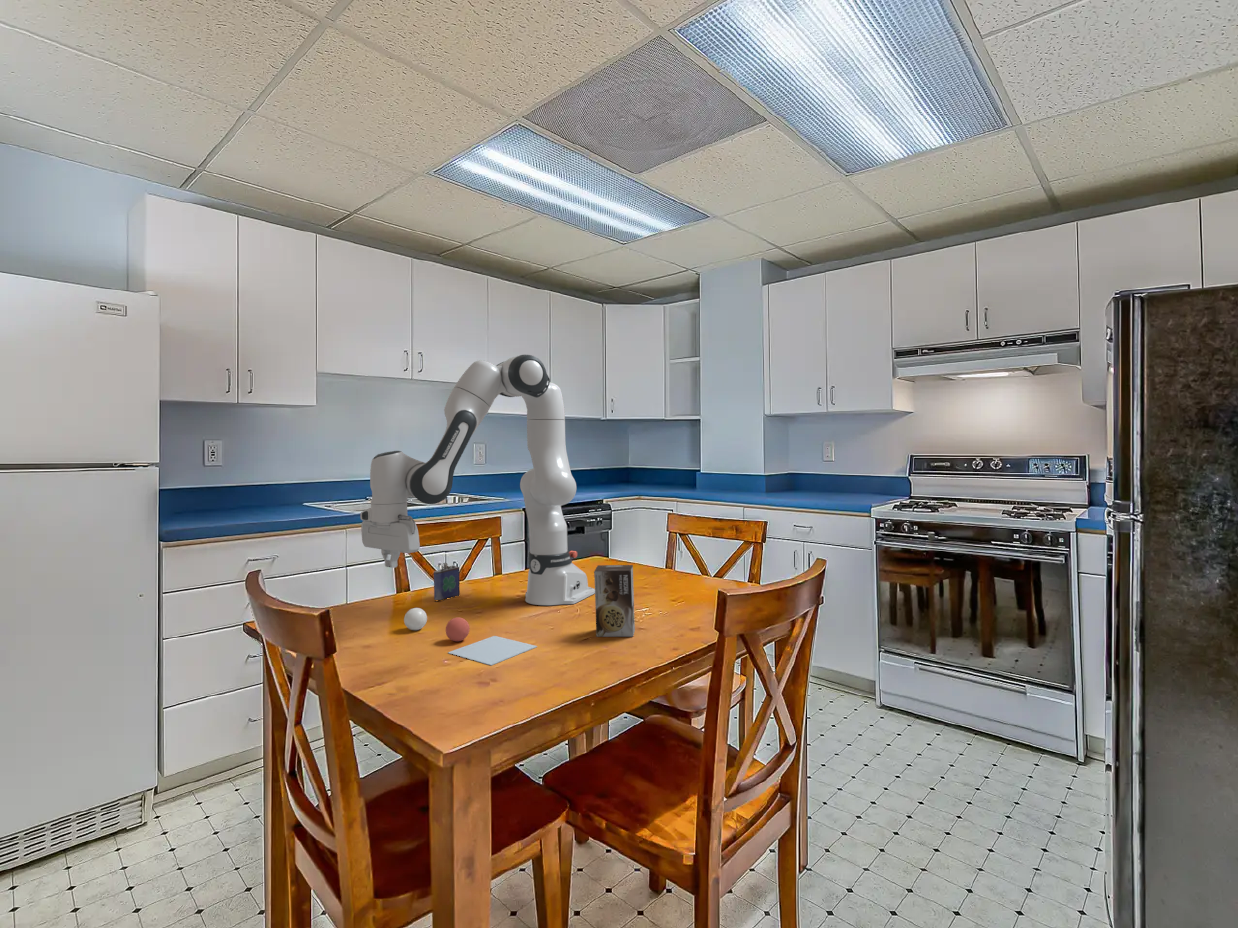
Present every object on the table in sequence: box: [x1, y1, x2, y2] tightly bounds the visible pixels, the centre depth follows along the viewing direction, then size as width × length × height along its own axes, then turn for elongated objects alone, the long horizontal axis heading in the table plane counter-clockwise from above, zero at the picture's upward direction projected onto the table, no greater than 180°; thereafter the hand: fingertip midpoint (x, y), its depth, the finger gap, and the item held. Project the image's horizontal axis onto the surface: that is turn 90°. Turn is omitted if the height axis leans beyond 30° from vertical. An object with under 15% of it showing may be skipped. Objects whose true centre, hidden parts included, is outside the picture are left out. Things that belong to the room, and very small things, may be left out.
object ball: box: [445, 616, 470, 642], centre depth 149 cm, size 6×6×6 cm
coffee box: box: [593, 564, 636, 638], centre depth 153 cm, size 9×6×16 cm
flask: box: [433, 562, 461, 601], centre depth 190 cm, size 9×3×11 cm, turn 146°
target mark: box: [447, 635, 538, 666], centre depth 142 cm, size 14×14×1 cm
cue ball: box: [403, 607, 428, 631], centre depth 159 cm, size 6×6×6 cm
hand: (391, 566), depth 164 cm, fingers closed
